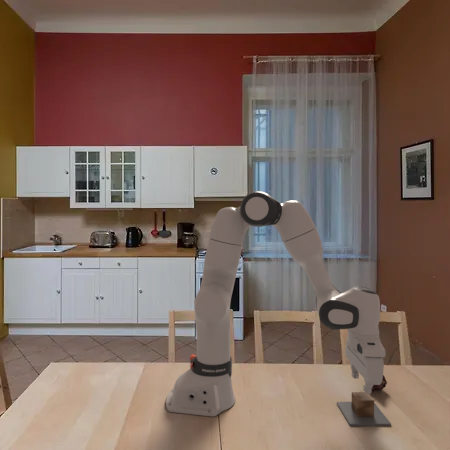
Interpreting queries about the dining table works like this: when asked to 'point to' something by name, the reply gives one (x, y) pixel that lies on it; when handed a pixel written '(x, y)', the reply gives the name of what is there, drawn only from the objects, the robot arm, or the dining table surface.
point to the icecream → (379, 387)
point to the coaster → (353, 420)
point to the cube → (362, 404)
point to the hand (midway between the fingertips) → (360, 384)
